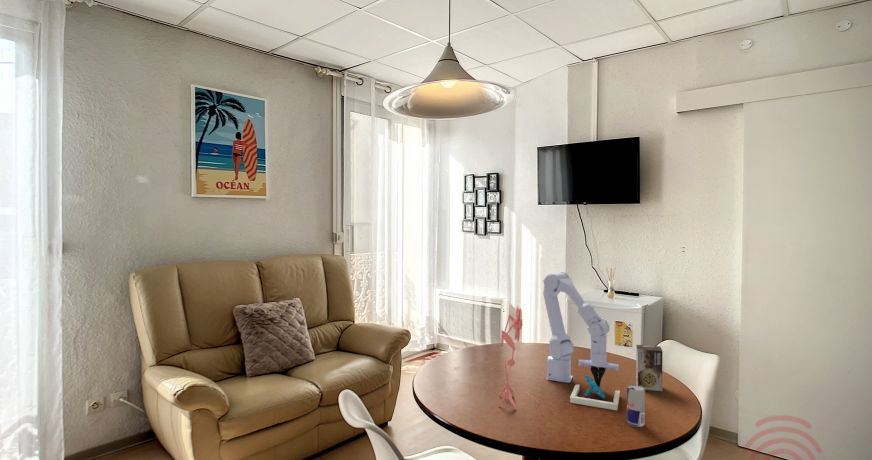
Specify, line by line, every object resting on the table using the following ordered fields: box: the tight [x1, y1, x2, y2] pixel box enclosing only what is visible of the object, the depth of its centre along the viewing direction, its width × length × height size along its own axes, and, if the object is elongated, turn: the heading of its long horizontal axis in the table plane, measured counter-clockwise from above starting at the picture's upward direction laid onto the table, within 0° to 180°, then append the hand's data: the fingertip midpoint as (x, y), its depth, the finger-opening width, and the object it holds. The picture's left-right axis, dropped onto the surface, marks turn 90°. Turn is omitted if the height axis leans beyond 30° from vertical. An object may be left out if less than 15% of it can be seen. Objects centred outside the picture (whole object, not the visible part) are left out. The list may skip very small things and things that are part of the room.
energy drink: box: [626, 384, 646, 428], centre depth 149 cm, size 5×5×12 cm
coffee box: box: [635, 344, 664, 392], centre depth 181 cm, size 9×6×16 cm
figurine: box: [495, 305, 539, 414], centre depth 165 cm, size 15×26×35 cm, turn 171°
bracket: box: [569, 383, 621, 411], centre depth 169 cm, size 16×14×2 cm
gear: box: [583, 375, 607, 399], centre depth 172 cm, size 11×6×10 cm
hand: (598, 386), depth 178 cm, fingers closed
